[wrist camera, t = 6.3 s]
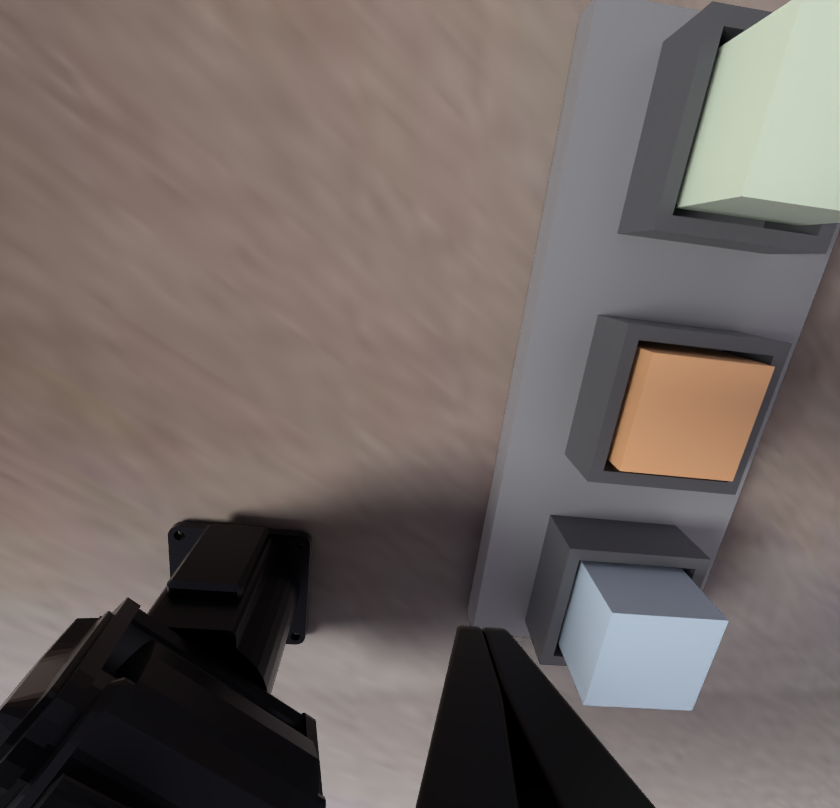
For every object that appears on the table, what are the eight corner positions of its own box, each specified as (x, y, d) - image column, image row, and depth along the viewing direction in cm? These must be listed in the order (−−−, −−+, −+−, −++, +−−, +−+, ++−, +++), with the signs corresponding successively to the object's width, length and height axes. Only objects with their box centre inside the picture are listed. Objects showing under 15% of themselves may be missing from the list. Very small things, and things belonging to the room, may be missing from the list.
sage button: (799, 225, 15) (893, 218, 12) (675, 207, 15) (740, 196, 12) (854, 71, 14) (973, 23, 11) (718, 48, 13) (804, -9, 11)
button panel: (665, 624, 25) (714, 691, 21) (467, 611, 24) (480, 678, 20) (865, 65, 17) (1001, 9, 13) (579, 15, 16) (636, -60, 12)
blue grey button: (651, 647, 21) (691, 710, 18) (557, 641, 20) (583, 705, 17) (679, 566, 19) (728, 620, 16) (579, 559, 19) (612, 612, 16)
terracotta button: (684, 449, 20) (732, 481, 17) (587, 439, 19) (619, 470, 16) (716, 349, 18) (775, 366, 15) (612, 337, 18) (653, 352, 15)
